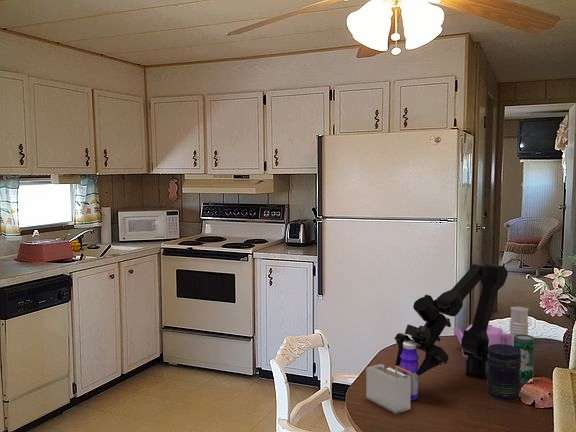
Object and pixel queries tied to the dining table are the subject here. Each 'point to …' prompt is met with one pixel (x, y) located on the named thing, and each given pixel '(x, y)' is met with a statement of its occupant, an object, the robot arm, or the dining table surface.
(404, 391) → the grey open box
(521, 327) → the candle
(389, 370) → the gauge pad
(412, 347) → the bottle
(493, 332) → the teakettle
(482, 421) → the dining table surface
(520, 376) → the can
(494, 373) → the storage jar
